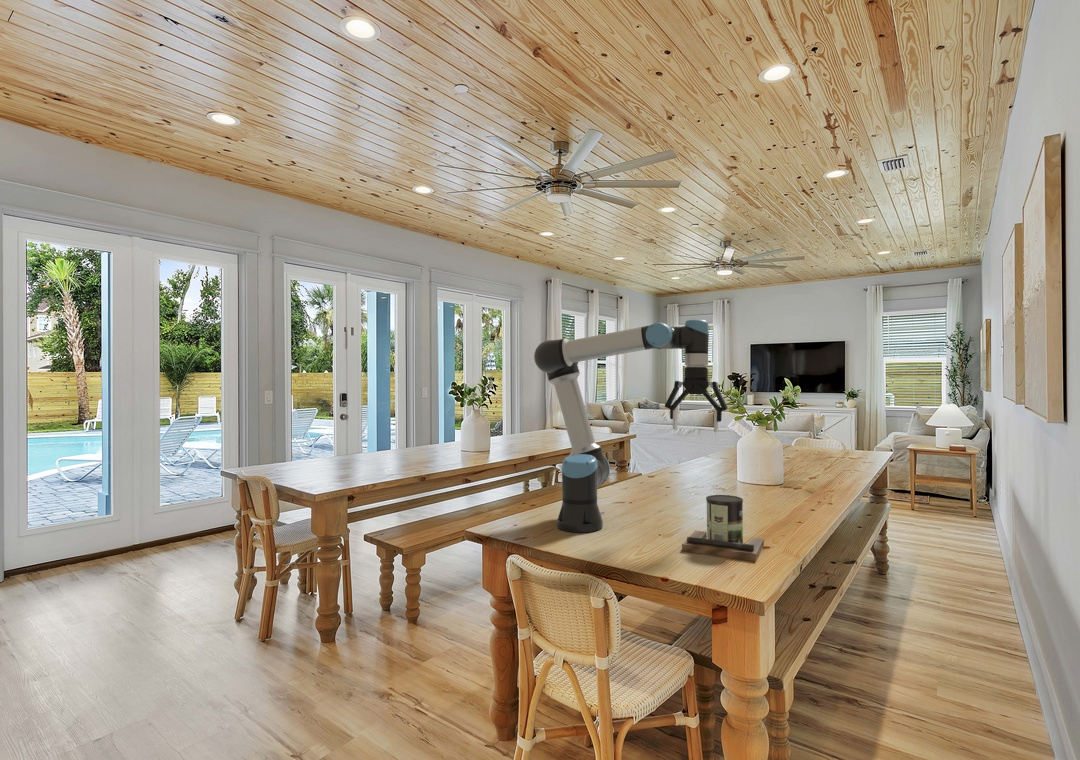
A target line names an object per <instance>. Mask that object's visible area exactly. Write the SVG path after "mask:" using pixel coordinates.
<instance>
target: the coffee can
mask: <svg viewBox="0 0 1080 760" xmlns="http://www.w3.org/2000/svg"><path fill="white" fill-rule="evenodd" d="M705 500H706V532H707V539H711V540H719V541H727V542H735V543H743V544H744V536H743V535H744V529H743V527H744V526H743V524H744V520H743V516H744V515H743V510H744V509H743V503H744V499H743V498H742V497H740V496H737V495H729V494H714V495H712V494H711V495H707V496H706V497H705Z"/></svg>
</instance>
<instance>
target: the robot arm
mask: <svg viewBox="0 0 1080 760" xmlns="http://www.w3.org/2000/svg"><path fill="white" fill-rule="evenodd" d="M709 333H710V332H709V322H708V321H707V320H705V319H689V320H688V319H687V320H686V321H685V323H684V326H669V325H668V324H666V323H665V322H653V323H652V324H650V325H645V326H639V327H633V328H628V329H623V330H618V331H613V332H608V333H602V334H597V335H592V336H588V337H582V338H576V339H571V340H569V339H568V338H560V339H549V340H548V339H547V340H544V341H542V342H541V343H539V344H538V346H537V347H536V349H535V350H534V356H533V359H534V363H535V365H536V366H537V368H538V369H539V370H540V371H541V372H543V373H546V376H547V380H548V383H550V384H552V385H553V386H554V389H555V392H556V396H557V400H558V403H559V406H560V411H561V413H562V419H563V421H564V424H565V428H566V433H567V436H568V439H569V443H570V445H571V451H570V453H569V455H568V456H566V457H564V458H563V459H562V463H561V483H562V484H561V485H562V487H561V490H562V491H561V493H562V494H561V495H562V501H561V506H560V511H559V513H558V517H557V523H556V524H557V526H556V527H557V528H558V529H559V530H560V531H564V532H570V533H592V532H596V531H597V532H598V531H600V530H601V529H603V528H604V527H603V524H604V523H603V518H602V515H601V512H600V508H599V504H598V487H600V486H602V485H603V484H604V483H605V482H606V481H607V479H608V478H609V475H610V472H611V467H610V462H609V461H608V459H607V457H606V456H605V455H604V453H603V450H602V447H601V445H599V444H597V442H596V441H595V438H594V433H593V431H592V426H591V423H590V420H589V415H588V412H587V409H586V405H585V402H584V398H583V395H582V391H581V388H580V385H579V380H578V378H579V376H580V369H579V365H578V364H579V362H580V363H581V362H585V361H591V360H596V359H597V360H598V359H602V358H606V357H612V356H618V355H624V354H629V353H635V352H640V351H641V352H642V351H646V350H675V349H676V350H679V349H681V350H682V349H683V350H684V365H685V366H686V367H684V377H683V379H684V380H683V381H681V380H675V381H674V386H673V388H672V390H671V393H670V395H669V396H668V398H667V400H666V402H665V404H664V408H666V409H669V412H670V413H669V414H670V415H669V418H670V420H672V430H678V413H679V412H678V411H679V410H678V409H676V408H677V407H678V406H679V405H680V404H681V403H682V401H683V400H685V398H686V397H687V396H688V395H693V396H694V395H698V396H699V395H703V396H704V397H705V398H706V400H707V401H708V402H709V403H710V404H711V406H712V407H713V408H714V409H715V411H714V412H713V415H714V417H713V420H714V421H713V433H718V432H719V423H720V422H721V421H722V420H723V419H722V413H723V411H726V410H728V405H727V403H726V401H725V399H724V397H723V395H722V392H721V391H720V388H719V383H718V381H715V380H714V381H710V382H709V380H708V379H709V368H708V366H709V339H710V338H709V336H710V334H709ZM682 387H683V388H684V390H683V391H682V393H681V394H680V395H679V397H677V399H676V400H674V399H675V397H676V395H678V392H679V390H680V388H682ZM709 387H710V388H711V389H712V390H713V392H714V395H715V397H716V398H717V400H718V402H717V401H716V400H715V399H714V398H713V396H712V395H711V394H710V392H709V391H708V390H707V389H708V388H709ZM718 403H719V404H718Z"/></svg>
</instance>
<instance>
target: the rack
mask: <svg viewBox="0 0 1080 760" xmlns="http://www.w3.org/2000/svg"><path fill="white" fill-rule="evenodd" d="M764 546H765V539H764V538H762V537H761V538H760V537H752V536H750V539H749V540H748V542H747V543H744V542H743V543H735V542H727V541H719V540H711V539H707V531H704V530H703V531H701V530H694V531H693V532H692V533H691V534H690V535H689V536H687V537H686V540H685V541H683V542H682V543H681V551H682V552H685V551H688V552H687V553H693V552H694V553H693V554H700V553H701V555H709V556H715V557H723V558H731V559H737V560H745V561H752V562H757V561H758V558H759V556H760V554H761V553H762V550H763V548H764Z"/></svg>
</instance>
